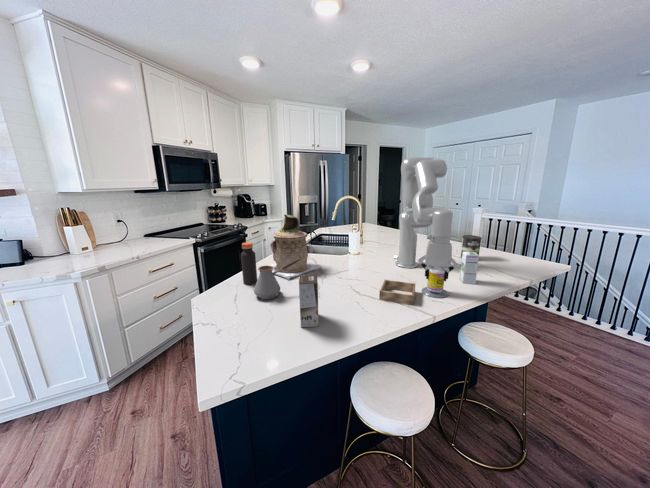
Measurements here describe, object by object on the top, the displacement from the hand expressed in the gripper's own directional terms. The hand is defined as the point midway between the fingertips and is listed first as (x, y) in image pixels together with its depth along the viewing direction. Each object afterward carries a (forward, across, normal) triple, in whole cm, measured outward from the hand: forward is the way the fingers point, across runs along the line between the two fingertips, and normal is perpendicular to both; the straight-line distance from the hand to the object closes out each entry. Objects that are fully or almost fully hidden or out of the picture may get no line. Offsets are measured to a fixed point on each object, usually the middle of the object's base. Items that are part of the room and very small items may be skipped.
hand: (436, 278), depth 113 cm
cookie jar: (+7, -76, +4) cm, 76 cm away
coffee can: (+7, +20, +62) cm, 65 cm away
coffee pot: (+7, -64, -26) cm, 70 cm away
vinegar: (+7, -85, -20) cm, 87 cm away
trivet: (+6, 0, 0) cm, 6 cm away
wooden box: (+6, -15, -9) cm, 19 cm away
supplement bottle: (+5, 0, 0) cm, 5 cm away
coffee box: (+7, -42, -41) cm, 59 cm away
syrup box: (+7, +15, +19) cm, 25 cm away
